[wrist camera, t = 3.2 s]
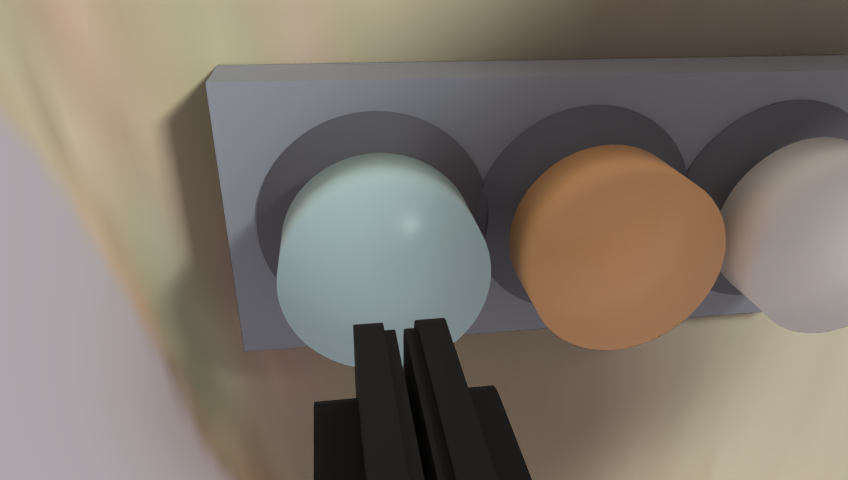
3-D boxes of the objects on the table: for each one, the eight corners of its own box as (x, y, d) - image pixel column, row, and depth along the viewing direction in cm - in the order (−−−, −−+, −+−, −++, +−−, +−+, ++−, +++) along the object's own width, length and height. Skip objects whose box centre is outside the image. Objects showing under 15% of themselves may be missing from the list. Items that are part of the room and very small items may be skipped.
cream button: (905, 134, 17) (971, 158, 15) (846, 288, 19) (898, 326, 18) (737, 139, 16) (786, 166, 15) (696, 299, 19) (735, 339, 17)
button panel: (880, 54, 20) (939, 68, 18) (805, 275, 23) (847, 306, 21) (217, 65, 17) (204, 83, 15) (250, 314, 20) (244, 353, 19)
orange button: (702, 141, 16) (748, 168, 15) (665, 302, 19) (701, 342, 17) (516, 147, 16) (541, 177, 14) (502, 314, 18) (522, 357, 16)
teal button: (477, 149, 16) (498, 178, 14) (468, 316, 18) (485, 360, 16) (271, 156, 15) (265, 188, 13) (290, 330, 17) (286, 377, 15)
